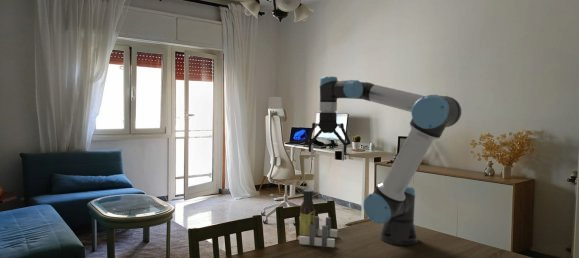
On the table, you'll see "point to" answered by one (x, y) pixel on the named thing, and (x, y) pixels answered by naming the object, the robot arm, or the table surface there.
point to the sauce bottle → (307, 213)
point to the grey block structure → (320, 234)
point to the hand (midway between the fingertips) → (327, 160)
